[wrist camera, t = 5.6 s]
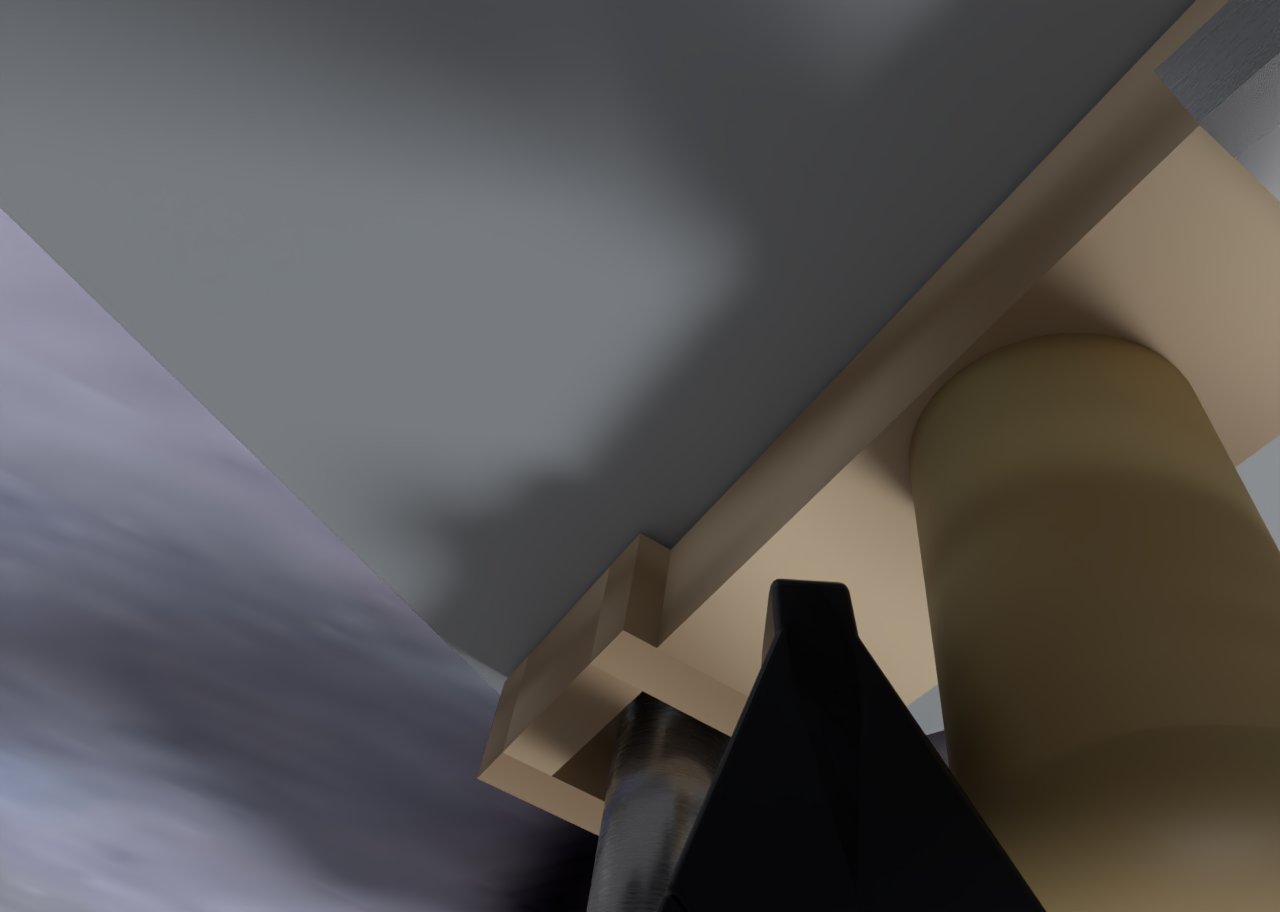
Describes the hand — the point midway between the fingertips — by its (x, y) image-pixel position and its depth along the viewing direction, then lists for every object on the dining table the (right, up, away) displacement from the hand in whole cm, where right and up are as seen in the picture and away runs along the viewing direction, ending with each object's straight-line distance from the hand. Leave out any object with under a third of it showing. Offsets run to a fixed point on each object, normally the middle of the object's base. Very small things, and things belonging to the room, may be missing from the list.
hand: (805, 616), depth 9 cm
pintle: (-1, -2, +7) cm, 7 cm away
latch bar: (+2, +1, +4) cm, 5 cm away
